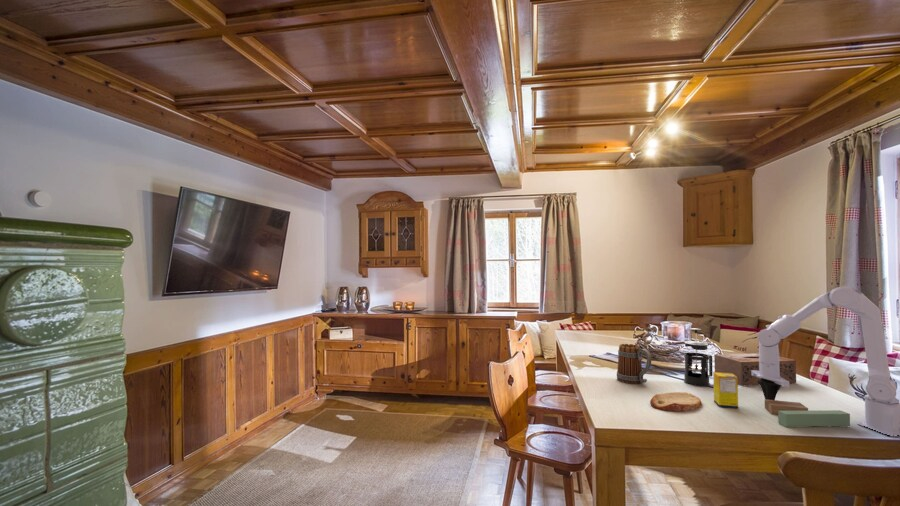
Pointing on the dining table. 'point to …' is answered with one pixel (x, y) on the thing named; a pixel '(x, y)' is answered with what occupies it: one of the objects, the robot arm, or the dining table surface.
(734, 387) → the supplement box
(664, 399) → the bread slice
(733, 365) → the tissue box cover
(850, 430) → the dining table surface
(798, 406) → the slab
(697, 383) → the french press
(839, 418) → the rail
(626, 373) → the mug
